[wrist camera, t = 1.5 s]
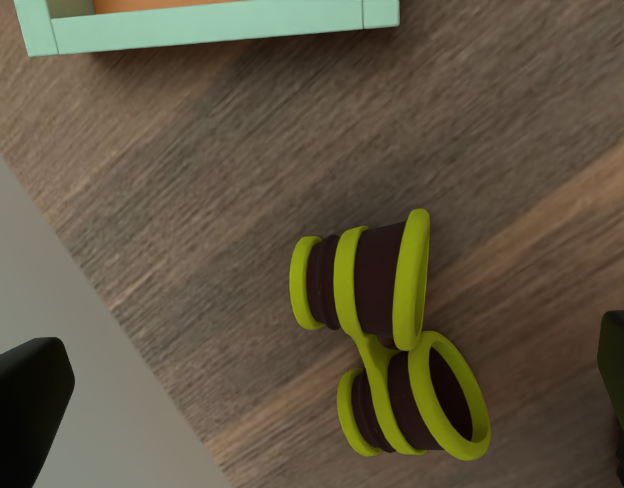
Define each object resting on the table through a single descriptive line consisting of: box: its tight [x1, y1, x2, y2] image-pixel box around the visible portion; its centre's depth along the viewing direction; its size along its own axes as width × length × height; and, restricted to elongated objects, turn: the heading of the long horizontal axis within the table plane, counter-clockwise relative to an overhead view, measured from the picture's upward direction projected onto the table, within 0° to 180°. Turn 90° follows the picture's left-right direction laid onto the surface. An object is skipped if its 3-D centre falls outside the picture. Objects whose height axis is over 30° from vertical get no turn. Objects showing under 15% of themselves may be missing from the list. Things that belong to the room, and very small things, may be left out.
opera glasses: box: [290, 209, 491, 461], centre depth 21 cm, size 10×5×5 cm, turn 20°
